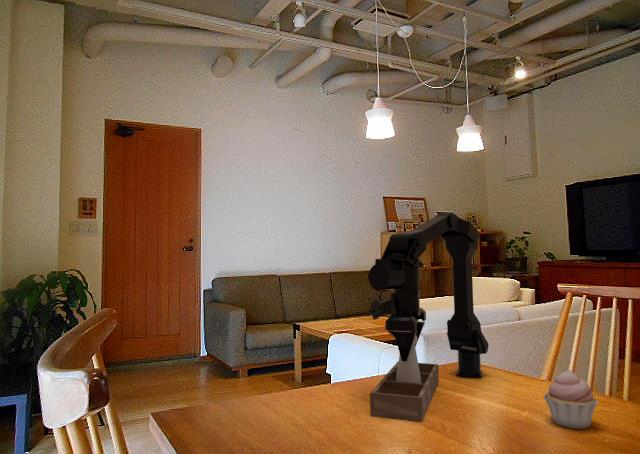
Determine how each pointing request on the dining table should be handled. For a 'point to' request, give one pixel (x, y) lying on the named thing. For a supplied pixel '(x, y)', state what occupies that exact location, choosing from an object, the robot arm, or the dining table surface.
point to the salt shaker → (409, 367)
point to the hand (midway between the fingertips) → (407, 357)
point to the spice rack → (404, 395)
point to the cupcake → (570, 401)
